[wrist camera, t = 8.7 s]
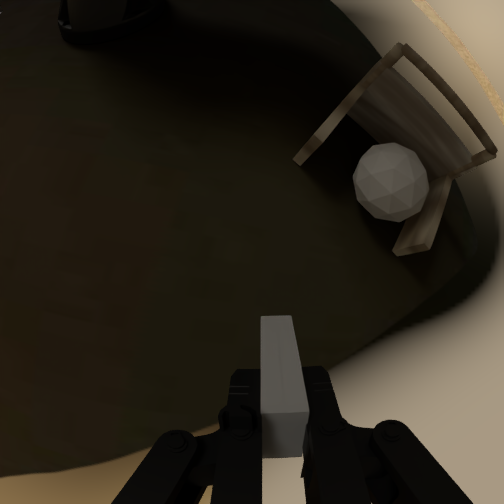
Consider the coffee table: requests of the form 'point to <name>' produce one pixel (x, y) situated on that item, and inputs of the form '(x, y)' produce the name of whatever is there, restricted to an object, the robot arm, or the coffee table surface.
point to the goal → (410, 136)
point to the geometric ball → (391, 182)
